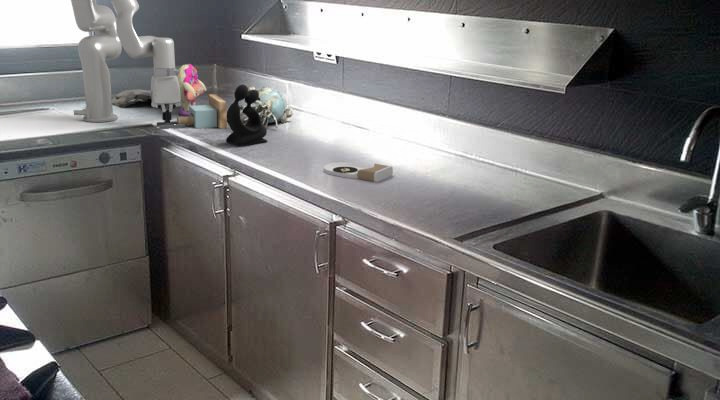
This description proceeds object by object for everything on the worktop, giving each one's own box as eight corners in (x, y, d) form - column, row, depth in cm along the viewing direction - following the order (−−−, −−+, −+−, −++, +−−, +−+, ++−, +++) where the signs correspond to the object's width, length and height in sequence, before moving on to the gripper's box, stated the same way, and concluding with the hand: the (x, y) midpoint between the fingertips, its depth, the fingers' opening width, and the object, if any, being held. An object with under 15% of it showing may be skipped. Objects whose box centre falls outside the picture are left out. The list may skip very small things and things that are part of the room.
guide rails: (159, 129, 254) (159, 126, 254) (156, 125, 261) (156, 122, 260) (184, 127, 258) (184, 124, 258) (181, 124, 264) (180, 120, 264)
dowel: (178, 128, 261) (178, 122, 258) (176, 120, 263) (177, 115, 260) (204, 127, 265) (205, 121, 262) (203, 119, 266) (204, 113, 264)
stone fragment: (117, 100, 314) (116, 86, 312) (183, 99, 319) (182, 85, 318) (108, 109, 290) (107, 93, 288) (180, 108, 295) (179, 92, 293)
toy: (195, 119, 274) (193, 68, 268) (173, 118, 274) (170, 67, 268) (209, 108, 298) (208, 60, 292) (189, 107, 298) (186, 60, 292)
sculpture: (294, 109, 282) (304, 113, 253) (263, 141, 282) (269, 148, 253) (260, 74, 277) (265, 73, 248) (227, 106, 277) (229, 109, 248)
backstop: (220, 128, 258) (219, 101, 255) (209, 119, 274) (208, 94, 271) (226, 128, 259) (226, 101, 256) (215, 119, 275) (214, 94, 272)
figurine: (237, 147, 230) (236, 87, 224) (222, 143, 236) (221, 84, 230) (271, 142, 240) (271, 84, 234) (256, 137, 246) (255, 81, 240)
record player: (374, 173, 194) (315, 163, 204) (374, 184, 195) (315, 173, 205) (394, 165, 204) (338, 155, 214) (394, 175, 204) (337, 165, 214)
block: (195, 128, 258) (195, 110, 256) (189, 122, 267) (189, 105, 266) (217, 126, 261) (216, 109, 259) (210, 121, 271) (210, 104, 269)
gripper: (183, 70, 259) (185, 119, 265) (141, 71, 253) (145, 121, 259) (187, 73, 253) (189, 123, 258) (145, 74, 247) (148, 125, 252)
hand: (167, 122), depth 259 cm, fingers closed
